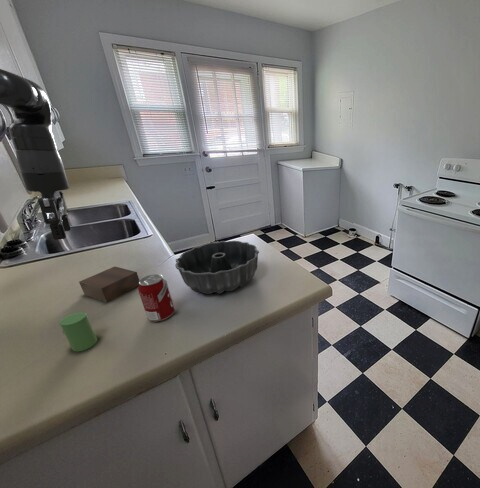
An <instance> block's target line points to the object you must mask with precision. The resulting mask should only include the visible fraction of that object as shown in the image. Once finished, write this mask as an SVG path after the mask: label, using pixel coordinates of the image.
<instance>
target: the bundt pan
mask: <svg viewBox="0 0 480 488" xmlns="http://www.w3.org/2000/svg"><path fill="white" fill-rule="evenodd" d="M259 253H260V251H259V250H258V248H257V246H256V245H254V244H251V243H249V242H248V241H245V242H244V241H240V240H230V241H229V240H228V241H226V240H221V241H218V242H217V241H215V242H208V243H205V244H202V245H199V246H194V247H192V248H191V249H189V250H186V251H184V252H182V253H181V254H180V256H179V257H177V258H175V264H174V266H175V269H176V270H178V272H179V274H180V276H181V279H182V281H183V282H184V284H185V285H186V286H187V287H189V288H190V290H191V291H193V292H196V293H203V294H207V295H208V294H213V293H217V294H219V295H220V294H221V295H222V293H223V292H224V291H225V292H231V291H234V290H236V289H237V288H238V287H244V286H245V285H246V284H247V283H248V282H249V281H251V280H252V279H253V277H255V273H256V271H257V270H258V269H257V268H258V258H259Z"/></svg>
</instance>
